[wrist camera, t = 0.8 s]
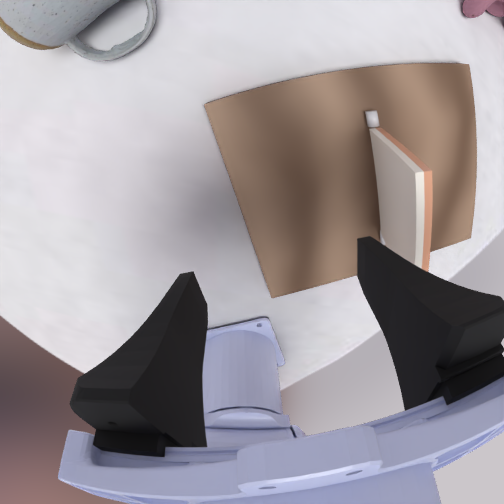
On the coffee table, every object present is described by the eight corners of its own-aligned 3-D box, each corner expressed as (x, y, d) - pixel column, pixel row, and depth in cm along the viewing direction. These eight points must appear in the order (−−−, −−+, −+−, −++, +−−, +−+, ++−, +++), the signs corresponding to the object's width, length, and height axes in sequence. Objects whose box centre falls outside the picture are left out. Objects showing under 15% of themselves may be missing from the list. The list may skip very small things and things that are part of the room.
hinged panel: (408, 323, 15) (420, 320, 15) (413, 146, 9) (430, 144, 9) (379, 239, 22) (388, 238, 22) (363, 111, 16) (375, 109, 16)
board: (270, 289, 26) (271, 298, 25) (206, 103, 17) (203, 104, 16) (464, 231, 23) (470, 238, 22) (459, 63, 15) (469, 64, 14)
